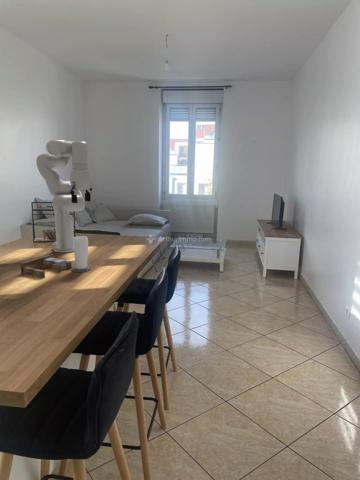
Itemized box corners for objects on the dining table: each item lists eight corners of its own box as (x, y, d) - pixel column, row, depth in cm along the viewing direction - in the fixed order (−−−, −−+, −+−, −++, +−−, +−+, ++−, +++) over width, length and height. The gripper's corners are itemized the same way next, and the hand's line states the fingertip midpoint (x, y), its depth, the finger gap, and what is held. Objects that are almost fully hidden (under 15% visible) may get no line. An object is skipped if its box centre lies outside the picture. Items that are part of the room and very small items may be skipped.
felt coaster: (67, 270, 166) (67, 269, 166) (80, 265, 174) (80, 264, 174) (82, 273, 162) (82, 272, 162) (94, 268, 170) (94, 267, 170)
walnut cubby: (21, 273, 160) (20, 262, 159) (51, 263, 176) (51, 254, 175) (42, 278, 154) (41, 267, 153) (71, 267, 170) (71, 257, 169)
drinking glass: (91, 267, 171) (90, 236, 167) (83, 271, 164) (82, 239, 161) (79, 265, 173) (78, 235, 169) (71, 269, 166) (69, 238, 163)
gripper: (86, 167, 183) (87, 200, 187) (61, 167, 168) (63, 203, 172) (97, 167, 180) (98, 201, 184) (73, 167, 165) (74, 204, 169)
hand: (81, 202), depth 178 cm, fingers open, 9 cm apart
